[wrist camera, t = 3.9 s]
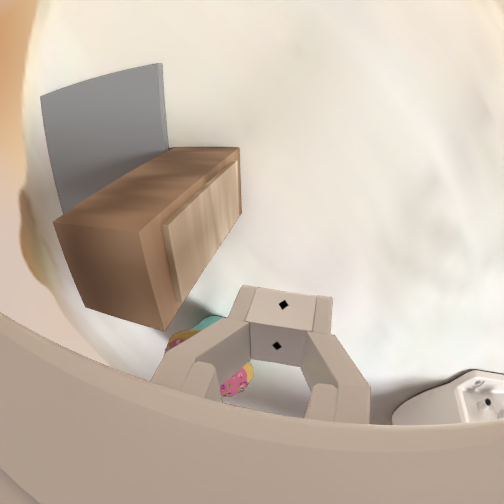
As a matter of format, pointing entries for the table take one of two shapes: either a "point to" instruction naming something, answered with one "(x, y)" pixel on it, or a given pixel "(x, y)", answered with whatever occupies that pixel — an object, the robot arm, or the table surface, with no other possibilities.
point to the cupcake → (232, 384)
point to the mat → (103, 130)
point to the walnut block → (152, 233)
